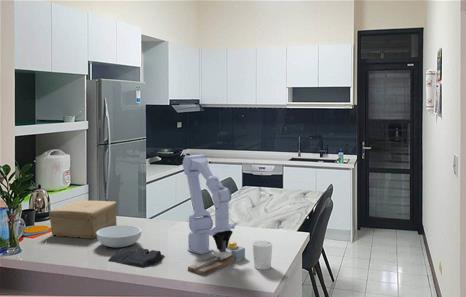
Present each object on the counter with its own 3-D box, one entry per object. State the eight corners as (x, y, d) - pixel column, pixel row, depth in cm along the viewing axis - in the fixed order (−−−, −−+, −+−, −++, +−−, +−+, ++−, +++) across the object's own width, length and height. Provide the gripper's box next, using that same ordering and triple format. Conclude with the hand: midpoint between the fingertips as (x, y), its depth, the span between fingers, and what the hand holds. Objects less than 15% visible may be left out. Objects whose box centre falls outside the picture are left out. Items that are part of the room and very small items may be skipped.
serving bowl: (131, 253, 214) (130, 238, 213) (88, 250, 218) (88, 236, 217) (148, 239, 234) (148, 225, 233) (109, 237, 238) (108, 224, 238)
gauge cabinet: (220, 257, 207) (220, 247, 207) (229, 253, 212) (229, 243, 211) (236, 261, 202) (236, 251, 201) (244, 257, 206) (244, 247, 206)
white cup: (270, 263, 199) (270, 240, 198) (273, 270, 191) (273, 246, 190) (252, 263, 199) (252, 240, 198) (253, 270, 191) (253, 246, 190)
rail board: (187, 270, 192) (187, 264, 192) (220, 257, 207) (220, 251, 207) (203, 275, 186) (203, 269, 186) (236, 261, 202) (236, 255, 201)
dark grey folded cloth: (127, 251, 217) (127, 241, 217) (167, 258, 208) (167, 247, 208) (105, 262, 204) (104, 251, 203) (147, 269, 194) (147, 258, 194)
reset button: (226, 252, 206) (226, 243, 206) (232, 250, 209) (232, 241, 208) (233, 253, 204) (233, 244, 203) (238, 251, 207) (238, 242, 206)
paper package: (78, 222, 266) (77, 198, 265) (119, 225, 260) (118, 200, 258) (48, 236, 241) (46, 209, 239) (93, 240, 234) (92, 212, 232)
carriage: (213, 257, 201) (213, 240, 201) (221, 254, 205) (220, 237, 204) (223, 260, 198) (223, 243, 197) (231, 257, 201) (231, 240, 200)
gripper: (217, 222, 191) (217, 254, 193) (240, 215, 202) (240, 245, 204) (204, 219, 196) (205, 251, 197) (227, 212, 207) (228, 242, 208)
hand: (222, 248), depth 201 cm, fingers closed on carriage, 3 cm apart
